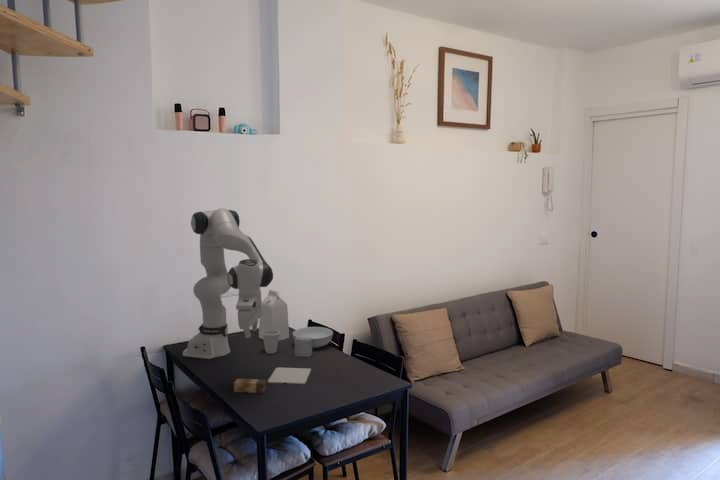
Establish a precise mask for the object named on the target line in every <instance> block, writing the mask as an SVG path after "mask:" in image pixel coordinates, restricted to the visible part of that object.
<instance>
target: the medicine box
mask: <svg viewBox="0 0 720 480" xmlns="http://www.w3.org/2000/svg"><path fill="white" fill-rule="evenodd" d="M293 340H294V339H293ZM312 355H313V348H312V338H309V337H296V339H295V340H294V357H295V358H296V357H298V358H300V357H301V358H302V357H303V358H311V356H312Z"/></svg>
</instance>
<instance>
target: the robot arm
mask: <svg viewBox="0 0 720 480" xmlns="http://www.w3.org/2000/svg"><path fill="white" fill-rule="evenodd" d="M190 226H191V228H192V231H193V233H195V234H196V235H200V236H199V253H200V255H199V256H200V264H201V265H202V266H203V267H204V269H205V274H206V276H204V277H202V278H200V279H199V280H198V281H197V282H196V283H195V284H194V285H193V294H194V296H195V298H196V299H198V301H199V303H200V307H201V310H202V323H201V325H199V327H198V328H197V331H198V333H196V334H195V335H194V336H193V337H192V338H191V339H189V341H188V343H187V347H186V348H185V349H184V350H183V351H182V356H183V357H189V358H196V359H197V358H198V359H207V360H211V359H214V358H218V357H223V356H226V355H229V353H231V349H230V345H229V339H228V333H229V332H228V329H229V328H228V323H227V308H226V307H225V305H224V304H223V301H222V295H224V294H226V293H228V291H229V290H230V289H231V288H232V289H234V290H238V299H237V302H236V305H235V309H236V311H237V322H238V328H239V329H240V330H243V332H244V337H245V338H246V339H249V338H251V336H252V333H251V329H252V332H256V331H257V330H258V325H259V318H260V317H261V313H262V312H261V302H262V290H261V288H267V287H268V286H269V285H270V284H271V282H272V281H273V279H274V272H273V270H272V267H271V266H270V265H269V264H268V263H267V261H266V260H265V259H264V257H263V255H262V253H261V252H260V251H259V248H258V247H257V245H256V244H255V243H254V241H253V239H252V238H251V237H250V236H248V235H246V234H245V233H243V232H242V230H241V229H240V228H239V227H240V216H239V213H238V212H237V211H236V210H232V209H227V208H218V209H214V210H207V211H206V210H205V211H197V212H194V213H193V214H192V215H191V220H190ZM225 250H227V251H228V250H229V251H235V252H240V253H243V254H244V255H247V257H248V259H247V258H246V259H242V260H240V261H239V262H238V264H237V265H236V266H232V267H231V268H229V271H228V269H227V265H226V261H225Z"/></svg>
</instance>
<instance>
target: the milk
mask: <svg viewBox="0 0 720 480" xmlns="http://www.w3.org/2000/svg"><path fill="white" fill-rule="evenodd" d="M279 294H280V293H279V291H277V290H274V289H269V291H268V294H267V295H266V296H265V297H264V299H263V300H261V312H262V313H261V317H260V318H259V319H258V338H259V339H262V340H264V338H263V332H264V331H266V330H277V331H279V332H280V333H279V338H278V342H279V341H282V340H287V339H289V338H290V328H289V327H290V326H289V312H288V309H289V308H288V304H287V303H286V302H285V300H283V299H282V298H281V297H280V295H279ZM286 338H287V339H286Z"/></svg>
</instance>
